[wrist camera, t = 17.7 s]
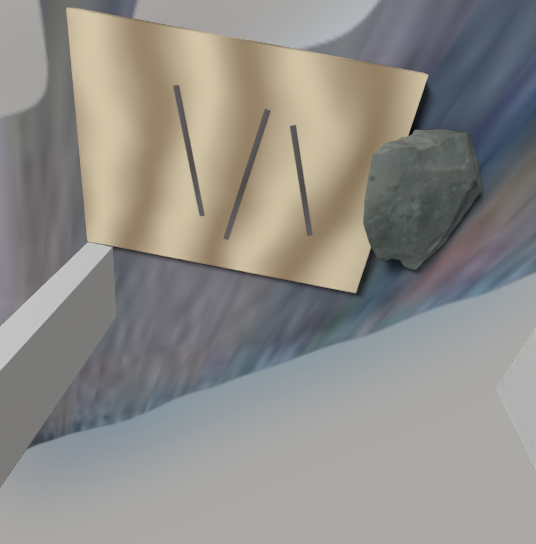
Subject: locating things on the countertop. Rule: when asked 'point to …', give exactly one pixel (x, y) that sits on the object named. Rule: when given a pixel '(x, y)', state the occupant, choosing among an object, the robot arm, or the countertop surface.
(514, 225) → the countertop surface
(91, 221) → the board
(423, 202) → the stone
